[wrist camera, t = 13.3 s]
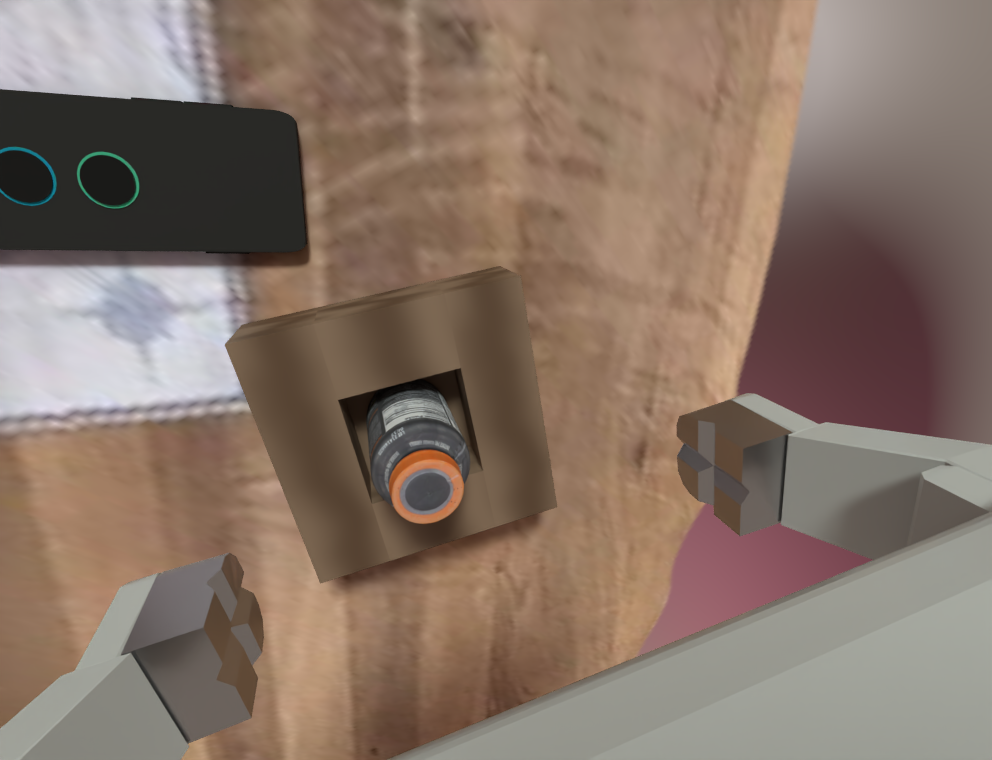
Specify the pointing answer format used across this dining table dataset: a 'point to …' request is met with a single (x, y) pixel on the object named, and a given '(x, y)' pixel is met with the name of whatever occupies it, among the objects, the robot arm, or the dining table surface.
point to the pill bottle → (416, 451)
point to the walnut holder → (383, 363)
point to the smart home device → (147, 175)
